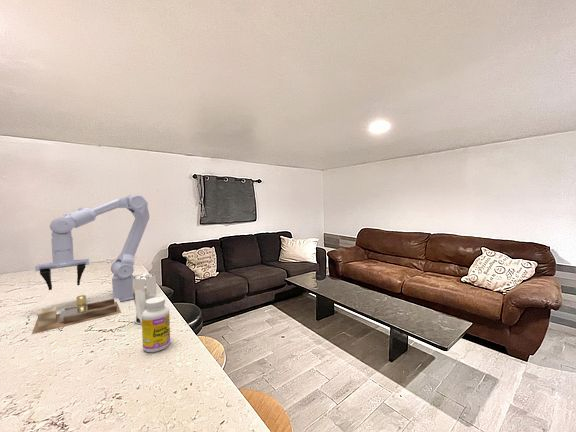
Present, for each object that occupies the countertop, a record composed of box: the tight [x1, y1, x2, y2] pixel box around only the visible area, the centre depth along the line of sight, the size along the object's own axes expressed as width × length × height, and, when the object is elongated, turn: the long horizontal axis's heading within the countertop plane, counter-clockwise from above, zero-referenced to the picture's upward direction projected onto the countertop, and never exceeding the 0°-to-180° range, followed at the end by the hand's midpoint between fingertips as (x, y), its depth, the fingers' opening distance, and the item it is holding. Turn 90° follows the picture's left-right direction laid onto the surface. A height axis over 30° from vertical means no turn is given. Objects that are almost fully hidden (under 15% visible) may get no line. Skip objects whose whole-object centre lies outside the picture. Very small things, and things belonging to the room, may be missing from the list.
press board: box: [31, 298, 122, 335], centre depth 86 cm, size 22×14×4 cm, turn 130°
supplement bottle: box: [141, 296, 171, 353], centre depth 68 cm, size 7×7×13 cm
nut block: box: [37, 306, 58, 327], centre depth 80 cm, size 4×4×4 cm
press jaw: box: [59, 294, 88, 323], centre depth 85 cm, size 7×7×6 cm
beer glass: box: [133, 273, 158, 326], centre depth 84 cm, size 7×7×15 cm
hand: (64, 287), depth 92 cm, fingers open, 7 cm apart
